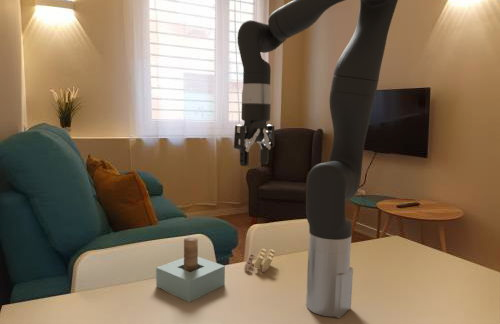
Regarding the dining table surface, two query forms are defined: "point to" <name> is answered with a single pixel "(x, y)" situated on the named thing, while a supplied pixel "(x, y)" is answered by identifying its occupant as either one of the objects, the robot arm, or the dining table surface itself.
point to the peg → (190, 254)
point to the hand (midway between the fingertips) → (254, 164)
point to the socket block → (190, 278)
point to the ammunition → (260, 260)
